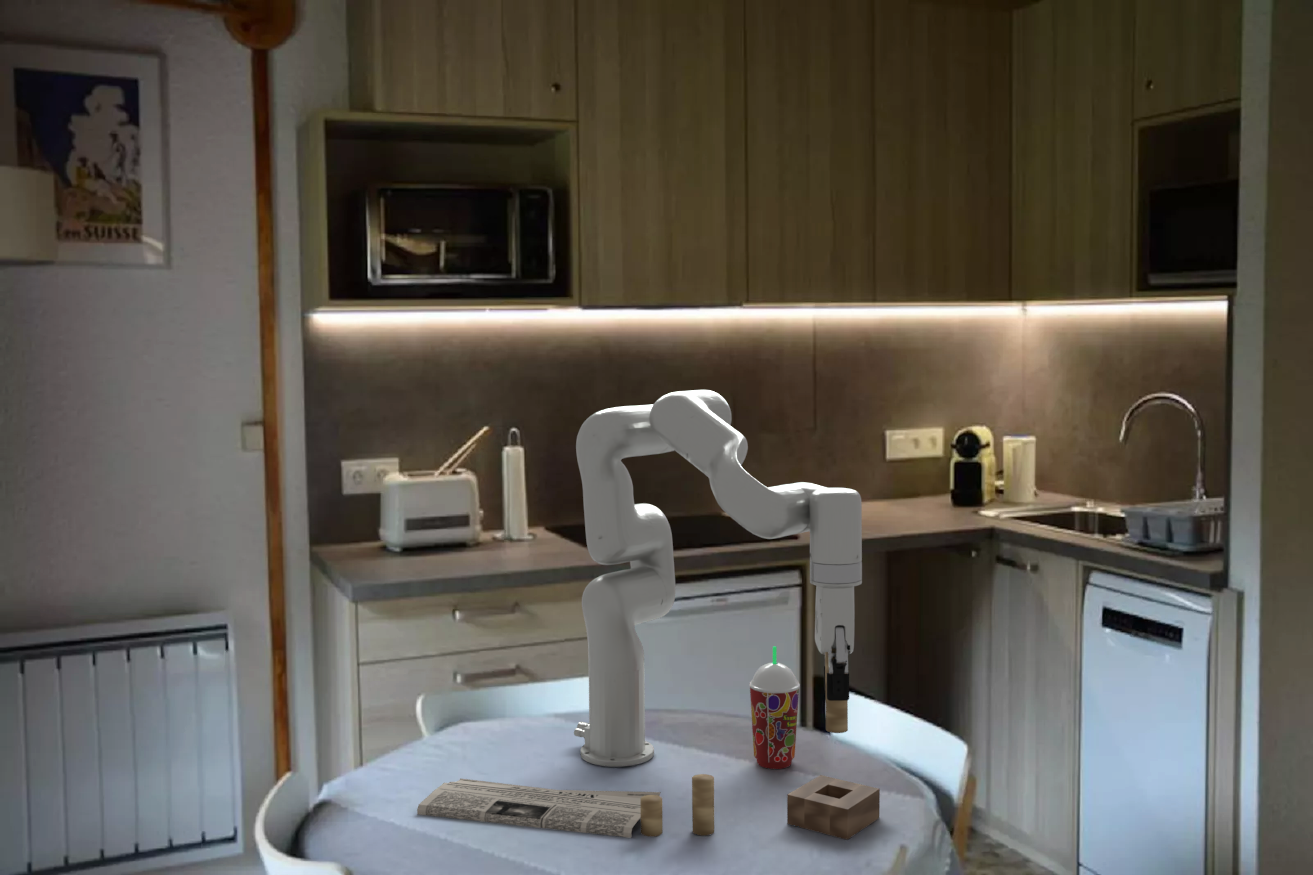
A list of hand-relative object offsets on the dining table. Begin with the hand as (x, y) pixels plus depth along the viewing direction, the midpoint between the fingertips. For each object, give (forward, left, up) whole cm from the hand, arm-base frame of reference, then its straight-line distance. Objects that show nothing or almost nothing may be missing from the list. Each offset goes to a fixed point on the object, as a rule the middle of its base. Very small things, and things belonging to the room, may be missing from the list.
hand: (836, 695), depth 191 cm
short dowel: (-20, -19, -19) cm, 34 cm away
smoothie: (-20, +16, -19) cm, 32 cm away
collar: (0, 0, -19) cm, 19 cm away
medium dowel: (-14, -14, -19) cm, 28 cm away
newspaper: (-38, -22, -20) cm, 49 cm away
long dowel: (0, 0, -5) cm, 5 cm away
